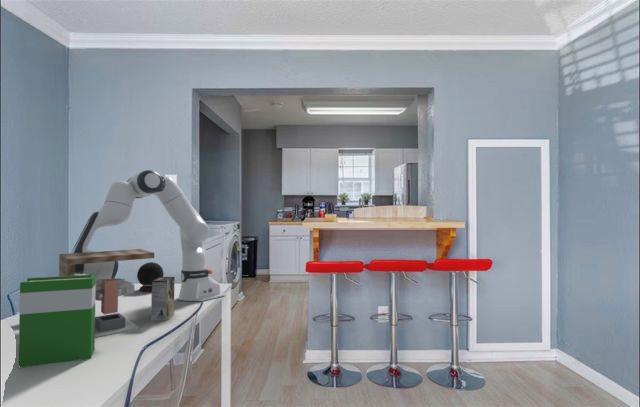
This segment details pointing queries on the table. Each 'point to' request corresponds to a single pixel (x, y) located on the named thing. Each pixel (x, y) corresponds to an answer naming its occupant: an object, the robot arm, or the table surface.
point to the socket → (112, 325)
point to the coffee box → (162, 299)
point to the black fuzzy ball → (149, 275)
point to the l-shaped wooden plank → (98, 258)
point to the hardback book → (56, 319)
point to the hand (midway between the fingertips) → (110, 294)
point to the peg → (109, 296)
